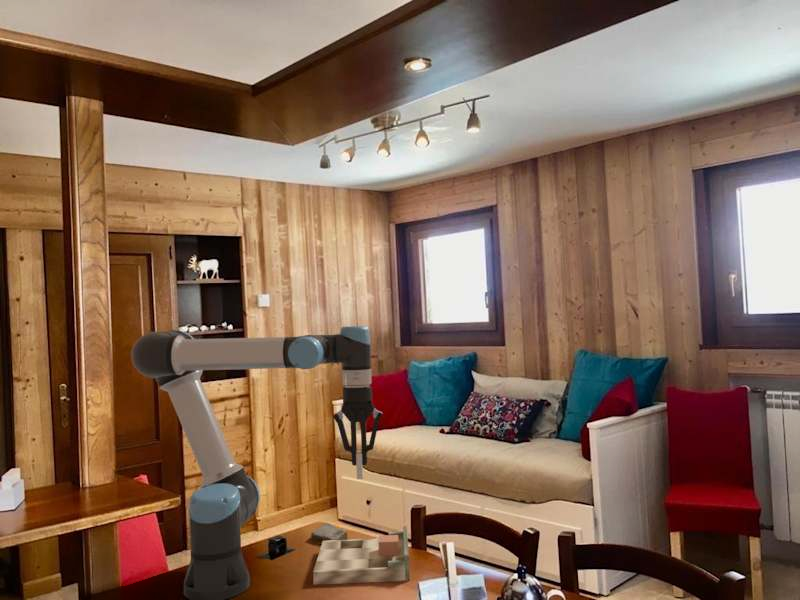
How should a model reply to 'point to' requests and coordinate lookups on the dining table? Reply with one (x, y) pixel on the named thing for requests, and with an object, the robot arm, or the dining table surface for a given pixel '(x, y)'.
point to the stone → (328, 533)
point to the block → (388, 545)
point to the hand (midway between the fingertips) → (360, 477)
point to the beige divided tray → (361, 561)
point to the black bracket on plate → (277, 548)
